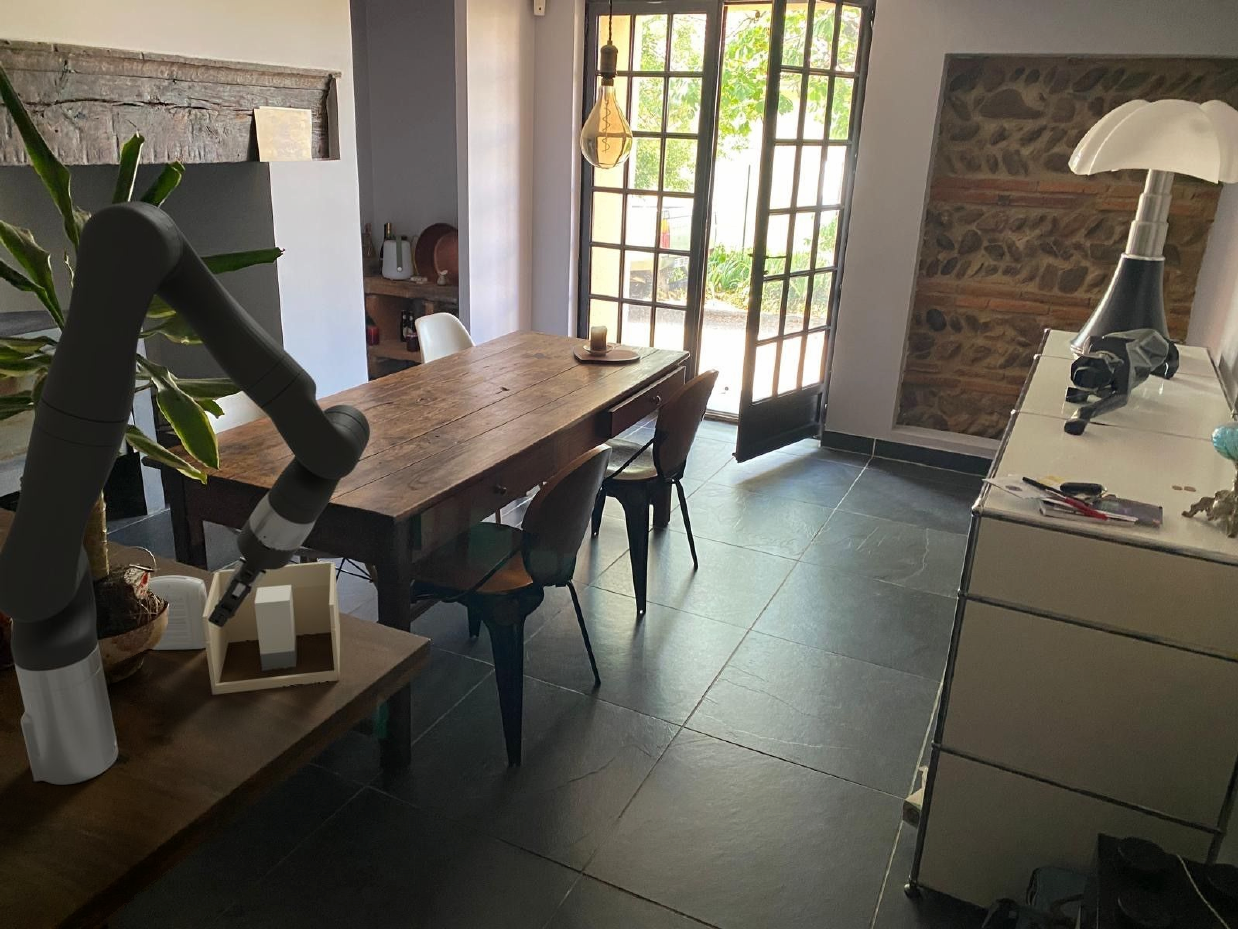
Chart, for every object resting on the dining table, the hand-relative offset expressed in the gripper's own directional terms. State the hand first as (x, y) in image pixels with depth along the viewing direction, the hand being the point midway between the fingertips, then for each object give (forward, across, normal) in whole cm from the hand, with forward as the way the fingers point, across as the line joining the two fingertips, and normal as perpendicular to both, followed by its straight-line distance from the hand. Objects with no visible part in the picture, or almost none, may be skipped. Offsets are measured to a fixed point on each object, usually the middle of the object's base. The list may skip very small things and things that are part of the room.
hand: (227, 602), depth 130 cm
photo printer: (+25, -12, -2) cm, 28 cm away
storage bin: (+15, -9, +12) cm, 21 cm away
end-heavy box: (+15, -9, +12) cm, 21 cm away
